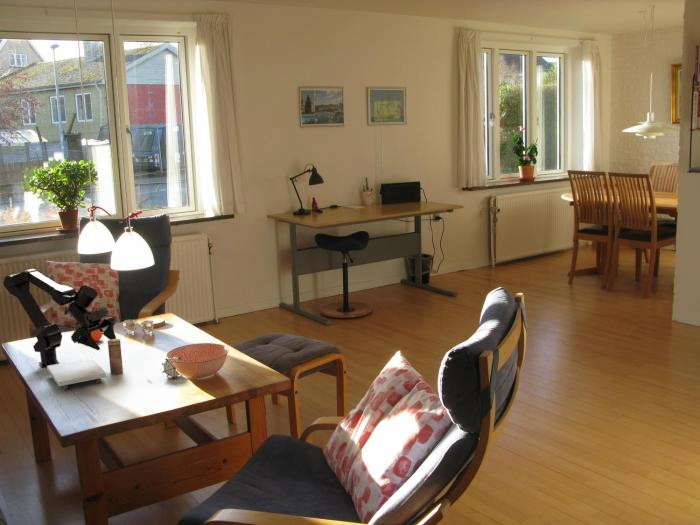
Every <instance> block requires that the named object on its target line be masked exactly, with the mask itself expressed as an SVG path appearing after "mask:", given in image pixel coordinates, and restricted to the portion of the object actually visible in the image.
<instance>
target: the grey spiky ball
mask: <svg viewBox="0 0 700 525" xmlns="http://www.w3.org/2000/svg"><path fill="white" fill-rule="evenodd" d="M172 355H173V356H174V354H173V353H172V354H171V356H172ZM181 358H182V356H179V357H177V356H174V357H173V358H172V359H171V358H170V357H168V358H167V357H166V358H165V361H164V363H161V365H162V366H163V371H162V372H161V373H162V374H163V373H165V374H166V378H167V377H169V376H170V377H172V378H173V379H174V380H176V378H177V377H178V376H179V375H180V374H179V373H178V372H177V371H176V367H175V365H174V364H173V362H172V361H174V360H175V361H181V360H182V359H181Z"/></svg>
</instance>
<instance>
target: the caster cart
mask: <svg viewBox="0 0 700 525" xmlns="http://www.w3.org/2000/svg"><path fill="white" fill-rule="evenodd" d="M46 368H47V369H46V370H47V372H48V373H49V374H50V376H51V377H52V379H53V380H54V382H55V383H56V385H57V386H58V387H61V386H62V388H63V391H68V390H69V385H72V384H77V383H83V382H88V381H93V380H95V384H96V385H97V384H101V379H103V378H107V373H106V371H105V370H104V369H103V368H102V367H101V366H100V365H99V364H98V362H96V361H95V359H93V357H89V358H84V359H83V358H82V359H77V360H72V361H71V360H70V361H67V362H59V364H55V365H49V366H47V367H46Z"/></svg>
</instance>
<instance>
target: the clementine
mask: <svg viewBox="0 0 700 525" xmlns="http://www.w3.org/2000/svg"><path fill="white" fill-rule="evenodd" d="M91 336H92V338H93V339H94V340H95V342H96V343H97V342H98V341H100V340H101V339H102V337H103V336H104V335H103V332H101V331H100V330H97V331H94V332H92V333H91Z"/></svg>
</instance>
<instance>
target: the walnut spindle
mask: <svg viewBox="0 0 700 525" xmlns="http://www.w3.org/2000/svg"><path fill="white" fill-rule="evenodd" d="M121 345H122V344H121V338H116V339H111V340H110V339H108V340H107V347H108V348H107V350H108V358H109V359H108V360H109V370H110V375H111V376H117V375H121V374H123V373H124V368H123V356H122V347H121Z"/></svg>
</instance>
